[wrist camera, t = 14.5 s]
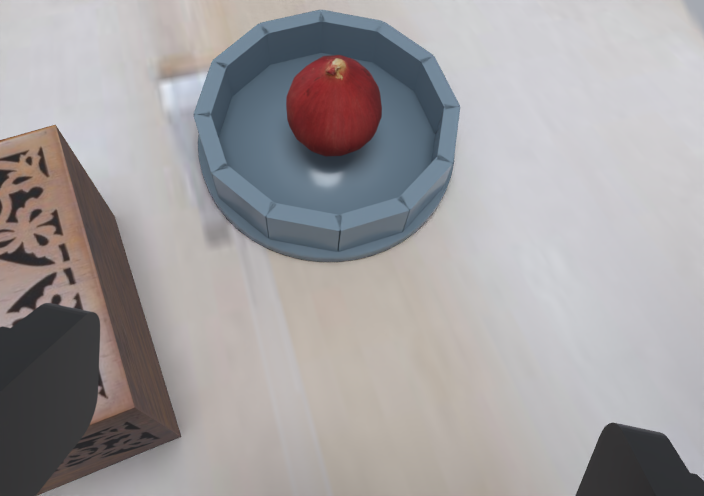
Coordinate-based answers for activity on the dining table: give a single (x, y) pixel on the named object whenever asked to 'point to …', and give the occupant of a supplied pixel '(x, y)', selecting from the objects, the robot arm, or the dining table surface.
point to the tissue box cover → (80, 294)
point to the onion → (334, 106)
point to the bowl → (314, 169)
